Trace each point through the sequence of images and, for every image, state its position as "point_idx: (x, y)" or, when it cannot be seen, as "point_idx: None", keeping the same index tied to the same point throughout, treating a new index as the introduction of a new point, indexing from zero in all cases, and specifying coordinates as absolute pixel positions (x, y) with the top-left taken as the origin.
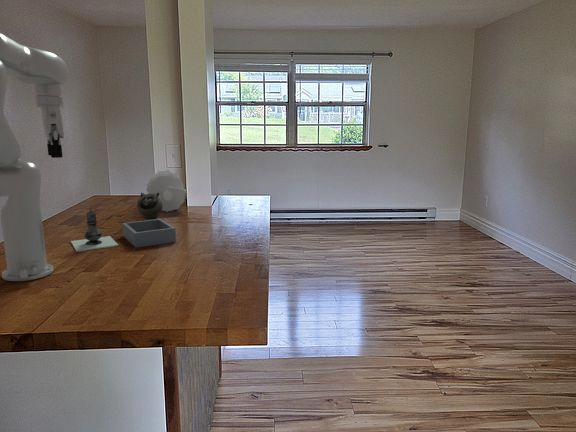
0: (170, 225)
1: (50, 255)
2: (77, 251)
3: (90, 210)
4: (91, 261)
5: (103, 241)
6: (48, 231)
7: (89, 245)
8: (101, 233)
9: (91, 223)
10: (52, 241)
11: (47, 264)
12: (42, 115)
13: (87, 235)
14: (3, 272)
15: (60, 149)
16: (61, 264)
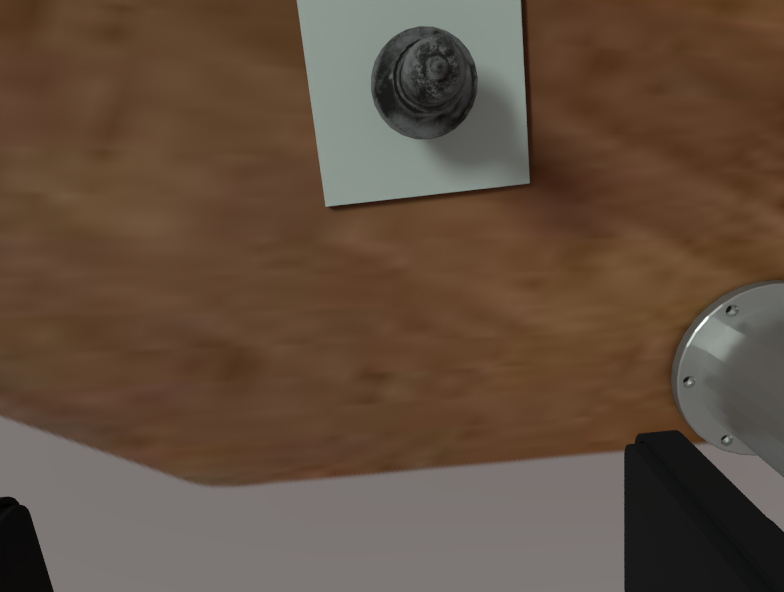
0: None
1: (529, 296)
2: (528, 178)
3: (442, 70)
4: (728, 122)
5: None
6: (26, 316)
7: None
8: (447, 32)
9: (465, 82)
10: (265, 292)
11: (739, 306)
12: None
13: (464, 119)
14: (750, 450)
15: (780, 561)
16: (699, 250)
